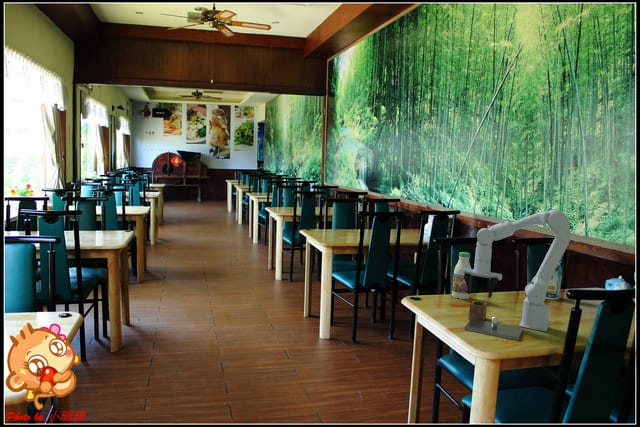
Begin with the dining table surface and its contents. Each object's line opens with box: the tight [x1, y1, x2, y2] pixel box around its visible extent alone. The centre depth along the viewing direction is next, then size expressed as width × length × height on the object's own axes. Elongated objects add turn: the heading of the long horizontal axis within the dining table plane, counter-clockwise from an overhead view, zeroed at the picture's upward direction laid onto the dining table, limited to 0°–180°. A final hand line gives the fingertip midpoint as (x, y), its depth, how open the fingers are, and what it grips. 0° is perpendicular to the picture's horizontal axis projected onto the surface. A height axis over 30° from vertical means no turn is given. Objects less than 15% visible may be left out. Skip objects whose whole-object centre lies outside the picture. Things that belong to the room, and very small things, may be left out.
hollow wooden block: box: [468, 300, 488, 321], centre depth 201 cm, size 5×7×6 cm
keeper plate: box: [464, 315, 524, 342], centre depth 188 cm, size 18×12×5 cm, turn 62°
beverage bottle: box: [545, 253, 563, 301], centre depth 242 cm, size 8×8×20 cm
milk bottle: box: [451, 251, 472, 300], centre depth 232 cm, size 8×8×20 cm
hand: (479, 295), depth 200 cm, fingers open, 7 cm apart
